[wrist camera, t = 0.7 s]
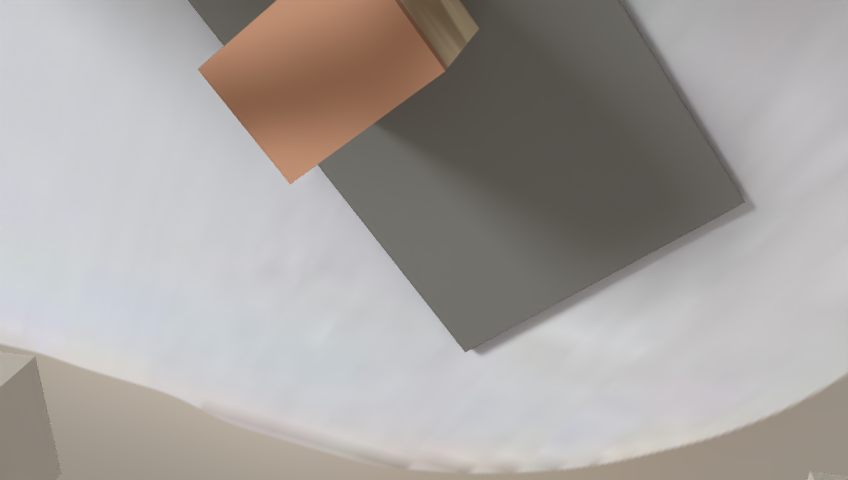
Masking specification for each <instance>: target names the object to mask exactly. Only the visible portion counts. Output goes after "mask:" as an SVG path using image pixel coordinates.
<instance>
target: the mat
mask: <svg viewBox="0 0 848 480" xmlns="http://www.w3.org/2000/svg"><path fill="white" fill-rule="evenodd" d="M188 1H189V2H190V3H191V5H192V6H193V7H194V8H195V10H196V11H197V12H198V13H199V15H200V16H201V17H202V18H203V20H204V21H205V22H206V24H207V25H208V26H209V27H210V29H211V30H212V31H213V32H214V34H215V35H216V36H217V38H218V39H219V40H220V41H221V43H222V44H223V45H224V46H225V45H226V44H227V43H228V42H230V41H231V40H232V39H233V38H234V37H235V36H236V35H238V34H239V33H240V32H241V31H242V30H243V29H244V28H246V27H247V26H248V25H249V24H250V23H251V22H252V21H254V20H255V19H256V18H257V17H258V16H259V15H260V14H262V13H263V12H264V11H265V10H266V9H267V8H268V7H270V6H271V5H272V4H273V3H274V2H275V1H277V0H188ZM460 1H461V2H462V3H463V5H464V6H465V8H466V9H467V11H468V12H469V14H470V15H471V17H472V18H473V19H474V21H475V22H476V24H477V25H478V27H479V30H478V31H477V32H476V33H475V35H474V36H473V37H472V38H471V40H470V41H469V42H468V43H467V45H466V46H465V47H464V48H463V50H462V51H461V52H460V53H459V55H458V56H457V57H456V58H455V60H454V61H453V62H452V63H451V65H450V66H449V67H448V68H447V70H446V71H445V72H443V73H442V74H441V75H439V76H438V77H437V78H435V79H434V80H432V81H431V82H430V83H428V84H427V85H426V86H424V87H423V88H421V89H420V90H419V91H417V92H416V93H415V94H413V95H412V96H411V97H409V98H408V99H406V100H405V101H404V102H402V103H401V104H400V105H398V106H397V107H395V108H394V109H393V110H391V111H390V112H389V113H387V114H386V115H384V116H383V117H382V118H380V119H379V120H378V121H376V122H375V123H373V124H372V125H371V126H369V127H368V128H367V129H365V130H364V131H363V132H361V133H360V134H358V135H357V136H356V137H354V138H353V139H352V140H350V141H349V142H347V143H346V144H345V145H343V146H342V147H341V148H339V149H338V150H336V151H335V152H334V153H332V154H331V155H330V156H328V157H327V158H325V159H324V160H323V161H321V162H320V163H319V164H318V166H319V167H320V168H321V170H322V171H323V172H324V173H325V175H326V176H327V177H328V178H329V180H330V181H331V182H332V184H333V185H334V186H335V187H336V189H337V190H338V191H339V192H340V194H341V195H342V196H343V198H344V199H345V200H346V201H347V203H348V204H349V205H350V206H351V208H352V209H353V210H354V211H355V213H356V214H357V215H358V217H359V218H360V219H361V220H362V222H363V223H364V224H365V225H366V227H367V228H368V229H369V231H370V232H371V233H372V234H373V236H374V237H375V238H376V239H377V241H378V242H379V243H380V244H381V246H382V247H383V248H384V250H385V251H386V252H387V253H388V255H389V256H390V257H391V258H392V260H393V261H394V262H395V264H396V265H397V266H398V267H399V269H400V270H401V271H402V272H403V274H404V275H405V276H406V278H407V279H408V280H409V281H410V283H411V284H412V285H413V286H414V288H415V289H416V290H417V291H418V293H419V294H420V295H421V297H422V298H423V299H424V300H425V302H426V303H427V304H428V305H429V307H430V308H431V309H432V311H433V312H434V313H435V314H436V316H437V317H438V318H439V319H440V321H441V322H442V323H443V324H444V326H445V327H446V328H447V330H448V331H449V332H450V333H451V335H452V336H453V337H454V338H455V340H456V341H457V342H458V344H459V345H460V346H461V347H462V349H463V350H464V351H465V352H467V351H469V350H470V349H472V348H474V347H476V346H478V345H480V344H482V343H483V342H485V341H487V340H489V339H491V338H493V337H495V336H497V335H498V334H500V333H502V332H504V331H506V330H508V329H510V328H511V327H513V326H515V325H517V324H519V323H521V322H523V321H524V320H526V319H528V318H530V317H532V316H534V315H536V314H537V313H539V312H541V311H543V310H545V309H547V308H549V307H551V306H552V305H554V304H556V303H558V302H560V301H562V300H564V299H565V298H567V297H569V296H571V295H573V294H575V293H577V292H578V291H580V290H582V289H584V288H586V287H588V286H590V285H592V284H593V283H595V282H597V281H599V280H601V279H603V278H605V277H606V276H608V275H610V274H612V273H614V272H616V271H618V270H619V269H621V268H623V267H625V266H627V265H629V264H631V263H632V262H634V261H636V260H638V259H640V258H642V257H644V256H646V255H647V254H649V253H651V252H653V251H655V250H657V249H659V248H660V247H662V246H664V245H666V244H668V243H670V242H672V241H673V240H675V239H677V238H679V237H681V236H683V235H685V234H687V233H688V232H690V231H692V230H694V229H696V228H698V227H700V226H701V225H703V224H705V223H707V222H709V221H711V220H713V219H714V218H716V217H718V216H720V215H722V214H724V213H726V212H727V211H729V210H731V209H733V208H735V207H737V206H739V205H741V204H742V203H744V202H745V201H744V199H743V198H742V196H741V195H740V193H739V191H738V190H737V188H736V187H735V185H734V183H733V182H732V180H731V179H730V177H729V175H728V174H727V172H726V171H725V169H724V167H723V166H722V164H721V163H720V161H719V159H718V158H717V156H716V155H715V153H714V151H713V150H712V148H711V147H710V145H709V143H708V142H707V140H706V139H705V137H704V136H703V134H702V132H701V131H700V129H699V128H698V126H697V124H696V123H695V121H694V120H693V118H692V116H691V115H690V113H689V112H688V110H687V108H686V107H685V105H684V104H683V102H682V100H681V99H680V97H679V96H678V94H677V92H676V91H675V89H674V88H673V86H672V85H671V83H670V81H669V80H668V78H667V77H666V75H665V73H664V72H663V70H662V69H661V67H660V65H659V64H658V62H657V61H656V59H655V57H654V56H653V54H652V53H651V51H650V49H649V48H648V46H647V45H646V43H645V41H644V40H643V38H642V37H641V35H640V33H639V32H638V30H637V29H636V27H635V26H634V24H633V22H632V21H631V19H630V18H629V16H628V14H627V13H626V11H625V10H624V8H623V6H622V5H621V3H620V2H619V0H460Z"/></svg>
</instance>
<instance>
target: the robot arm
mask: <svg viewBox="0 0 848 480" xmlns="http://www.w3.org/2000/svg"><path fill="white" fill-rule="evenodd" d="M60 475H61V469H60V465H59V460H58V455H57V451H56V447H55V442H54V438H53V433H52V429H51V424H50V420H49V415H48V411H47V407H46V402H45V398H44V394H43V389H42V384H41V380H40V376H39V371H38V367H37V362H36V358H35V356H28V355H22V354H16V353H9V352H2V351H0V480H56V479H57V478H58V477H59V476H60ZM807 480H848V477H846V476H838V475H832V474H825V473H819V472H812V471H810V474H809V476H808V479H807Z"/></svg>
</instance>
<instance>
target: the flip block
mask: <svg viewBox="0 0 848 480" xmlns="http://www.w3.org/2000/svg"><path fill="white" fill-rule="evenodd" d="M478 30H479V27H478V25H477V24H476V22H475V21H474V19H473V18H472V17H471V15H470V14H469V12H468V11H467V9H466V8H465V6H464V5H463V3H462V2H461V1H460V0H277V1H275V2H274V3H273V4H272V5H271V6H270V7H268V8H267V9H266V10H265V11H264V12H263V13H262V14H260V15H259V16H258V17H257V18H256V19H255V20H254V21H252V22H251V23H250V24H249V25H248V26H247V27H246V28H244V29H243V30H242V31H241V32H240V33H239V34H238V35H236V36H235V37H234V38H233V39H232V40H231V41H230V42H228V43H227V44H226V45H225V46H224V47H223V48H222V49H220V50H219V51H218V52H217V53H216V54H215V55H213V56H212V57H211V58H210V59H209V60H208V61H207V62H205V63H204V64H203V65H202V66H201V67H200V68H199V69H198V70H199V71H200V73H201V74H202V75H203V76H204V78H205V79H206V80H207V81H208V83H209V84H210V85H211V86H212V88H213V89H214V90H215V91H216V93H217V94H218V95H219V96H220V98H221V99H222V100H223V101H224V103H225V104H226V105H227V106H228V107H229V109H230V110H231V111H232V112H233V114H234V115H235V116H236V117H237V119H238V120H239V121H240V122H241V124H242V125H243V126H244V127H245V129H246V130H247V131H248V132H249V134H250V135H251V136H252V137H253V139H254V140H255V141H256V142H257V144H258V145H259V146H260V147H261V148H262V150H263V151H264V152H265V153H266V155H267V156H268V157H269V158H270V160H271V161H272V162H273V163H274V165H275V166H276V167H277V168H278V170H279V171H280V172H281V173H282V175H283V176H284V177H285V178H286V180H287V181H288V182H289V183H290V184H291V183H293V182H294V181H295V180H297V179H298V178H299V177H301V176H302V175H304V174H305V173H306V172H308V171H309V170H310V169H312V168H313V167H315V166H316V165H317V164H319V163H320V162H321V161H323V160H324V159H325V158H327V157H328V156H330V155H331V154H332V153H334V152H335V151H336V150H338V149H339V148H341V147H342V146H343V145H345V144H346V143H347V142H349V141H350V140H352V139H353V138H354V137H356V136H357V135H358V134H360V133H361V132H363V131H364V130H365V129H367V128H368V127H369V126H371V125H372V124H373V123H375V122H376V121H378V120H379V119H380V118H382V117H383V116H384V115H386V114H387V113H389V112H390V111H391V110H393V109H394V108H395V107H397V106H398V105H400V104H401V103H402V102H404V101H405V100H406V99H408V98H409V97H411V96H412V95H413V94H415V93H416V92H417V91H419V90H420V89H421V88H423V87H424V86H426V85H427V84H428V83H430V82H431V81H432V80H434V79H435V78H437V77H438V76H439V75H441V74H442V73H443V72H445V71H446V70H447V68H448V67H449V66H450V65H451V63H452V62H453V61H454V60H455V58H456V57H457V56H458V55H459V53H460V52H461V51H462V50H463V48H464V47H465V46H466V45H467V43H468V42H469V41H470V40H471V38H472V37H473V36H474V35H475V33H476V32H477V31H478Z"/></svg>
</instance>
